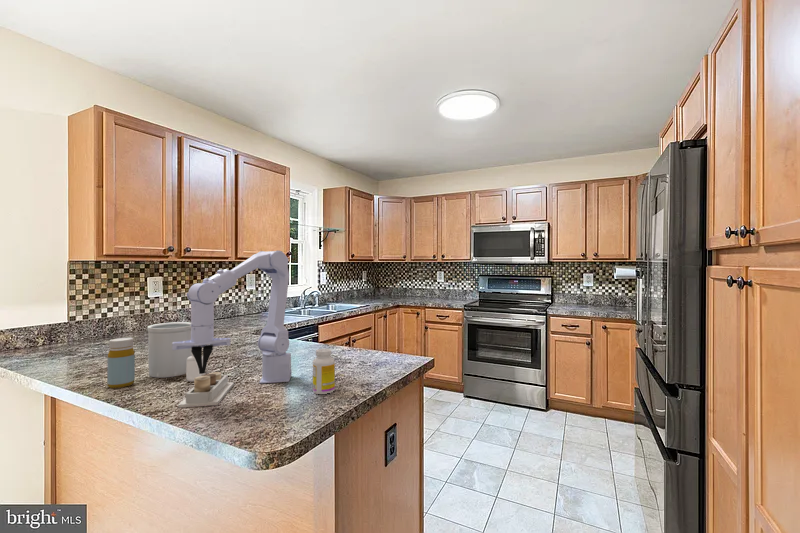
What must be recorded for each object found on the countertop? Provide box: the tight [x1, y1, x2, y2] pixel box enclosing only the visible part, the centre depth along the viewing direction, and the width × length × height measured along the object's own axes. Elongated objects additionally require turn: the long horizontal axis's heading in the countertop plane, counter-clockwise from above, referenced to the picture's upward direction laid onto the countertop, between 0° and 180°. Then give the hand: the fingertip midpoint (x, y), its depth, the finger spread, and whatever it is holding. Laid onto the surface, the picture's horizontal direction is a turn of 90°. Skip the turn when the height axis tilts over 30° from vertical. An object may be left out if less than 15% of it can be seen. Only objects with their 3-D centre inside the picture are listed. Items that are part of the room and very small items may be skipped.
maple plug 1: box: [193, 376, 210, 393], centre depth 103 cm, size 4×4×4 cm
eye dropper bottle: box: [185, 345, 206, 382], centre depth 123 cm, size 4×6×12 cm
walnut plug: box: [202, 373, 216, 386], centre depth 109 cm, size 4×4×4 cm
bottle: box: [106, 337, 136, 389], centre depth 118 cm, size 7×7×15 cm
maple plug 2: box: [208, 371, 222, 380], centre depth 114 cm, size 4×4×4 cm
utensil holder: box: [147, 321, 192, 378], centre depth 133 cm, size 15×15×18 cm
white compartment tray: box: [177, 374, 235, 409], centre depth 109 cm, size 10×18×4 cm, turn 12°
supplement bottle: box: [312, 348, 336, 395], centre depth 111 cm, size 7×7×13 cm
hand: (202, 372), depth 103 cm, fingers closed
